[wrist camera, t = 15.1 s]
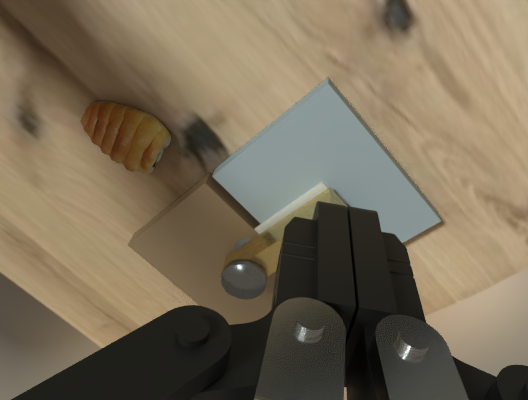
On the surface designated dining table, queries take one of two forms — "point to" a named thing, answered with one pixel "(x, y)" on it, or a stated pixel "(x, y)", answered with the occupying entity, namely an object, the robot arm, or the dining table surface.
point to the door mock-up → (279, 197)
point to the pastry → (126, 135)
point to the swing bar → (264, 253)
